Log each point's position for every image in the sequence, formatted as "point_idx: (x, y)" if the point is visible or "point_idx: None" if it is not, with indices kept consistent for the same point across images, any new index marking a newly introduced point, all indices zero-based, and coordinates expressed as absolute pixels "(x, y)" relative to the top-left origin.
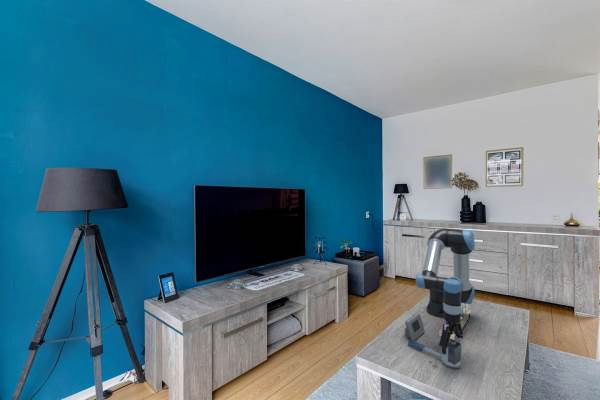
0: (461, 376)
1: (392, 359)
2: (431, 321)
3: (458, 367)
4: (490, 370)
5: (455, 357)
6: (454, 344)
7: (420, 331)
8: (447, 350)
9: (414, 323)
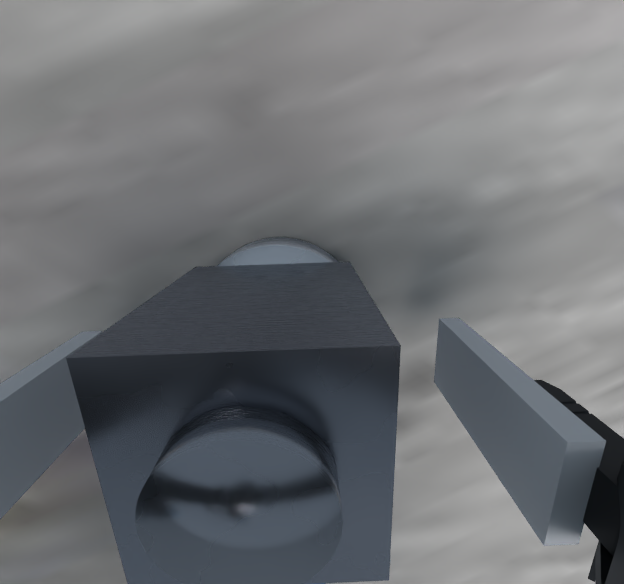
0: (391, 166)
1: (575, 568)
2: None
3: (298, 241)
4: (14, 8)
5: (351, 284)
6: (279, 426)
7: None
8: (557, 403)
9: None
